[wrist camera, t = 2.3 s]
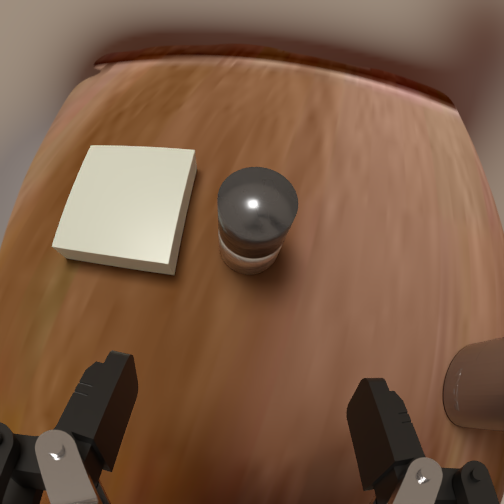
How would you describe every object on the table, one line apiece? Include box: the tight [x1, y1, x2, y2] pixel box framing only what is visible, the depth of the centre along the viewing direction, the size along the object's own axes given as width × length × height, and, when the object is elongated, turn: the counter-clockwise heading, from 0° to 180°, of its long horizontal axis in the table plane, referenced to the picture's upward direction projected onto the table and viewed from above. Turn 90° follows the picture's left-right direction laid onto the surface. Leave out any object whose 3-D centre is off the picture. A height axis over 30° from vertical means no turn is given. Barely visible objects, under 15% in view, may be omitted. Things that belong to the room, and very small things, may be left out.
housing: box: [218, 167, 298, 275], centre depth 23 cm, size 5×5×8 cm
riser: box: [52, 145, 197, 275], centre depth 26 cm, size 11×11×3 cm
